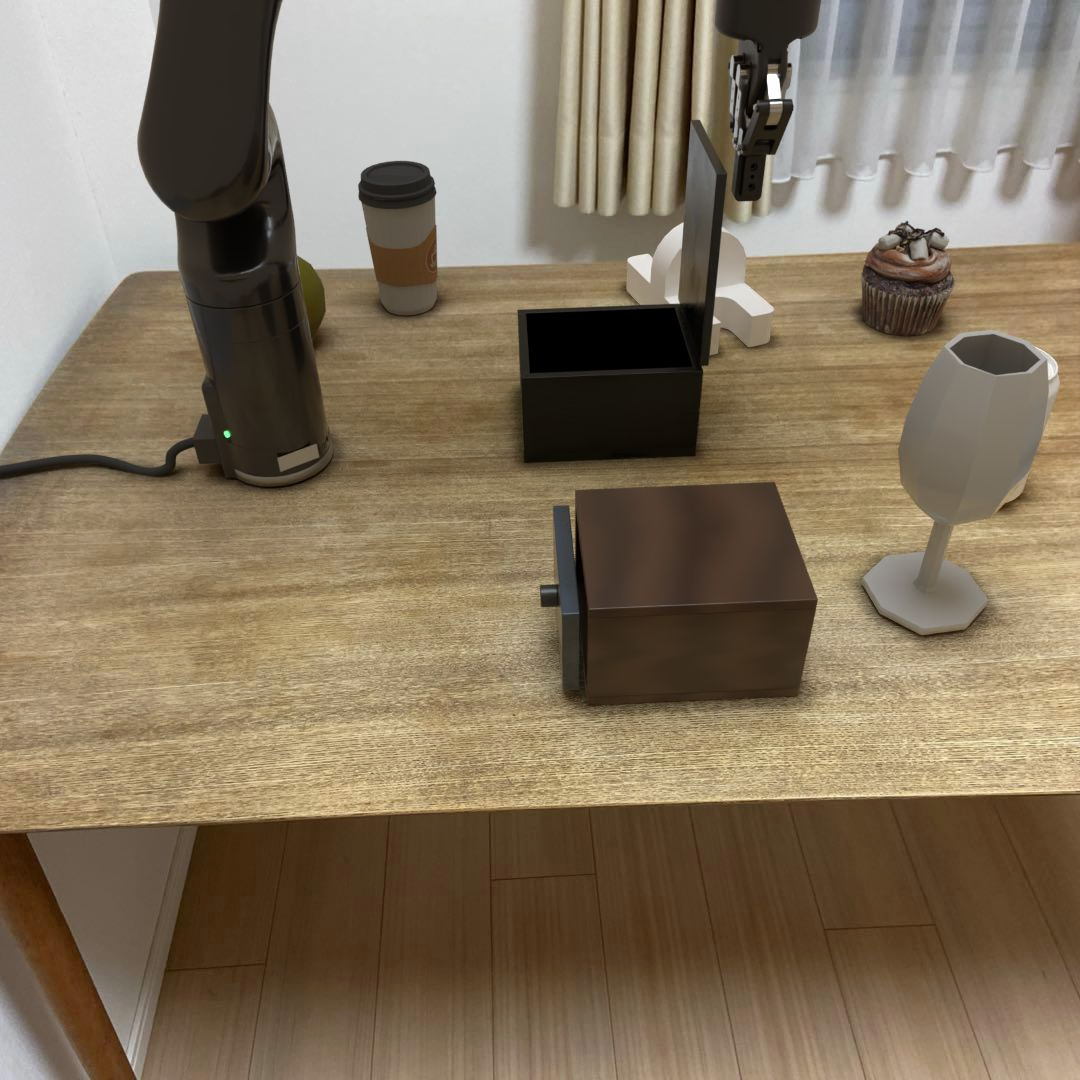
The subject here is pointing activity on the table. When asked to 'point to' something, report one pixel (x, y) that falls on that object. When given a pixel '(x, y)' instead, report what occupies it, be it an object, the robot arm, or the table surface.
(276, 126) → the robot arm
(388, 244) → the coffee cup
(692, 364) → the metal box
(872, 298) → the cupcake
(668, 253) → the white slotted bracket
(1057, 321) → the table surface
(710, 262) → the lid
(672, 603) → the drawer cabinet
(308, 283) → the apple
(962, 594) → the wineglass
